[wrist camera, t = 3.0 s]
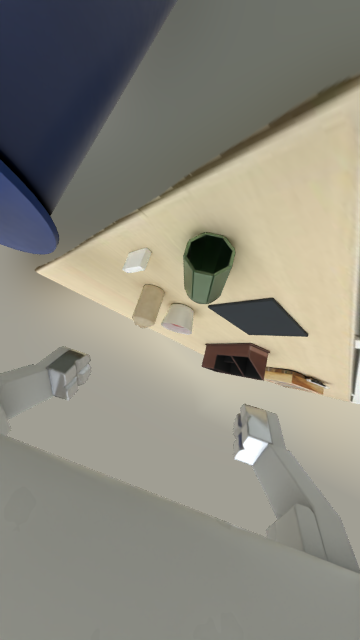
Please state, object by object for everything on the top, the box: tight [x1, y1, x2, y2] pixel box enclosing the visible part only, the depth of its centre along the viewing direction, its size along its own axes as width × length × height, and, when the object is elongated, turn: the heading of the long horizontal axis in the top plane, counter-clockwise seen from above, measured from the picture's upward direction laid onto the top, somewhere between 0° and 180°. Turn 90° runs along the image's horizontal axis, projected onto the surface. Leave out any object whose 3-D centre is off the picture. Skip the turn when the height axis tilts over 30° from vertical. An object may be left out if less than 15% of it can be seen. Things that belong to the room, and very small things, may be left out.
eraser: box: [122, 248, 152, 273], centre depth 34 cm, size 1×5×4 cm, turn 126°
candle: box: [132, 285, 164, 328], centre depth 48 cm, size 6×6×10 cm
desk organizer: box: [202, 343, 270, 381], centre depth 84 cm, size 10×29×11 cm, turn 152°
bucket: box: [183, 232, 235, 304], centre depth 29 cm, size 10×6×6 cm, turn 2°
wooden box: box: [264, 367, 330, 394], centre depth 107 cm, size 25×6×28 cm
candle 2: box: [161, 304, 194, 334], centre depth 55 cm, size 9×9×6 cm
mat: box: [208, 298, 308, 337], centre depth 48 cm, size 20×16×1 cm
